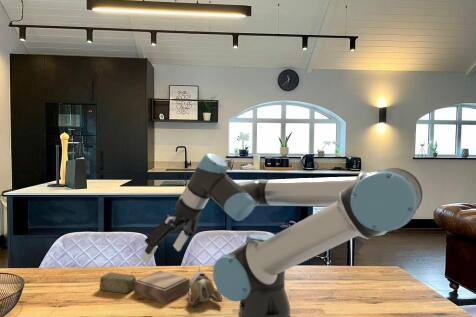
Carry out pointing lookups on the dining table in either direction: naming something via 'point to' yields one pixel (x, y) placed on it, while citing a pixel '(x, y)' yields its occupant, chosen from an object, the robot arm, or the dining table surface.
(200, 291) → the ceramic sculpture
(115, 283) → the stone block
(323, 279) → the dining table surface
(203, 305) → the dining table surface
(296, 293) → the dining table surface
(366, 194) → the robot arm
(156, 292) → the walnut box
